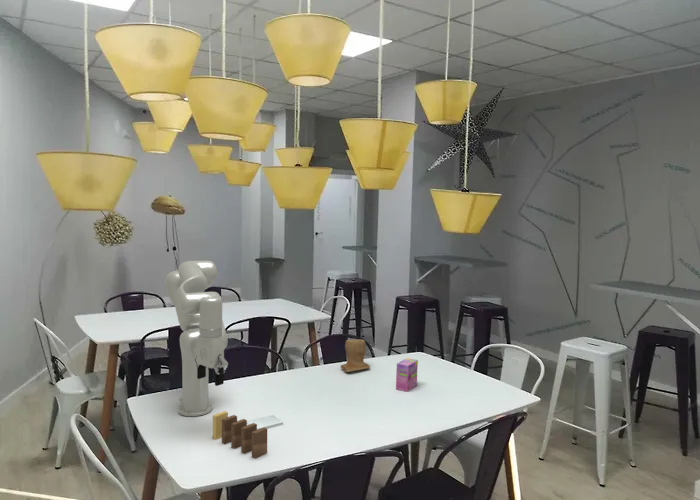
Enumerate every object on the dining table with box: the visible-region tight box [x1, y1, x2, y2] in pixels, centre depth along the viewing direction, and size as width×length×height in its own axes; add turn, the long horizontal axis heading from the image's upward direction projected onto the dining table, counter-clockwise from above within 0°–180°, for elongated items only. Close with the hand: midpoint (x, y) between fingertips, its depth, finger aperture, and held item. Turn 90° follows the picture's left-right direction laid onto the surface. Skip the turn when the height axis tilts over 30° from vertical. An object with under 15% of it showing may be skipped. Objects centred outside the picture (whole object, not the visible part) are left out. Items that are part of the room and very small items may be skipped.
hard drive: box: [247, 414, 284, 430], centre depth 184 cm, size 2×8×12 cm
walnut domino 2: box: [230, 418, 248, 450], centre depth 166 cm, size 2×5×8 cm, turn 141°
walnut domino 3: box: [240, 423, 257, 454], centre depth 163 cm, size 2×5×8 cm, turn 141°
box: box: [395, 357, 419, 393], centre depth 226 cm, size 10×6×12 cm, turn 148°
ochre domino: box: [212, 410, 229, 441], centre depth 173 cm, size 2×5×8 cm, turn 142°
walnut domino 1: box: [221, 414, 238, 445], centre depth 169 cm, size 2×5×8 cm, turn 141°
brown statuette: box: [340, 338, 371, 373], centre depth 251 cm, size 15×12×15 cm
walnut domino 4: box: [251, 427, 268, 460], centre depth 160 cm, size 2×5×8 cm, turn 141°
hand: (210, 381), depth 176 cm, fingers open, 9 cm apart
